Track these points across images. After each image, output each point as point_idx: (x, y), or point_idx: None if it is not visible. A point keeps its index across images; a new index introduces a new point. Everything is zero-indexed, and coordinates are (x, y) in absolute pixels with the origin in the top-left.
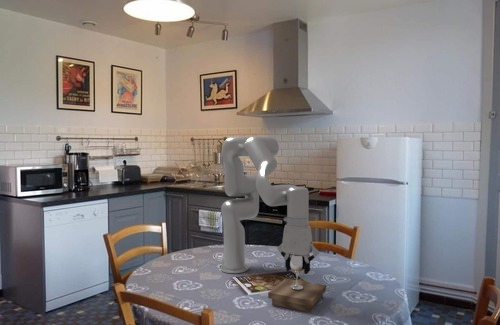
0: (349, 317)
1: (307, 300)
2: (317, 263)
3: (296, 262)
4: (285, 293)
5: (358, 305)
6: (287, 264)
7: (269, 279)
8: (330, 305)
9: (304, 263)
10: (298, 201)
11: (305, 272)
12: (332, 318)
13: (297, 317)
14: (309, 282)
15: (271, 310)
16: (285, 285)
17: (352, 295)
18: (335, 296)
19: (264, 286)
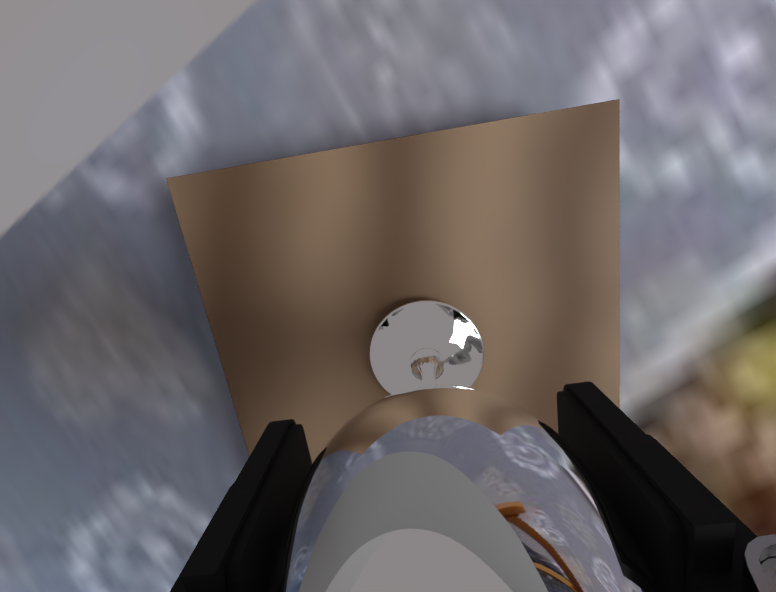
0: (24, 278)
1: (213, 170)
2: None
3: (389, 496)
4: (455, 184)
5: (89, 456)
6: (633, 452)
7: (755, 523)
8: (208, 370)
9: (237, 570)
10: None
11: (271, 431)
12: (87, 201)
13: (271, 62)
14: None
15: (494, 50)
16: (546, 354)
17: None
18: None
19: (739, 405)
